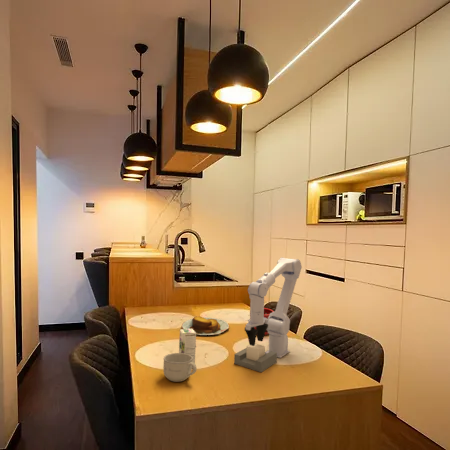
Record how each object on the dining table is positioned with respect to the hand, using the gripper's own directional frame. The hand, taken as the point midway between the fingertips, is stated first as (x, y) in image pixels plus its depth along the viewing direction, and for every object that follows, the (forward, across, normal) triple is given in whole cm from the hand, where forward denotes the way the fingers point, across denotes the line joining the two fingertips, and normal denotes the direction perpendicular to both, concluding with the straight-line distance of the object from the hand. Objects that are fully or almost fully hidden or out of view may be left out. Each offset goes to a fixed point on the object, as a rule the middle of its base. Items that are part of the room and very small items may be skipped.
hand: (256, 343), depth 141 cm
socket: (+8, 0, 0) cm, 8 cm away
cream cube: (+8, 0, 0) cm, 8 cm away
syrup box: (+9, +21, -20) cm, 30 cm away
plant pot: (+9, -36, -18) cm, 41 cm away
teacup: (+9, +31, -14) cm, 35 cm away
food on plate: (+9, -21, -45) cm, 50 cm away
